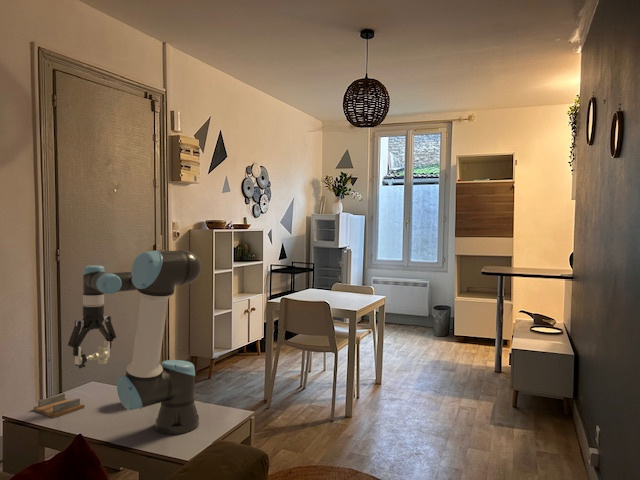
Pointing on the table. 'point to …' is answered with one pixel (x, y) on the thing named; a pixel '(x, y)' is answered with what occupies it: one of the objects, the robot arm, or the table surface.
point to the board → (58, 405)
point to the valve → (96, 356)
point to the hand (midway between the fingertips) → (92, 360)
